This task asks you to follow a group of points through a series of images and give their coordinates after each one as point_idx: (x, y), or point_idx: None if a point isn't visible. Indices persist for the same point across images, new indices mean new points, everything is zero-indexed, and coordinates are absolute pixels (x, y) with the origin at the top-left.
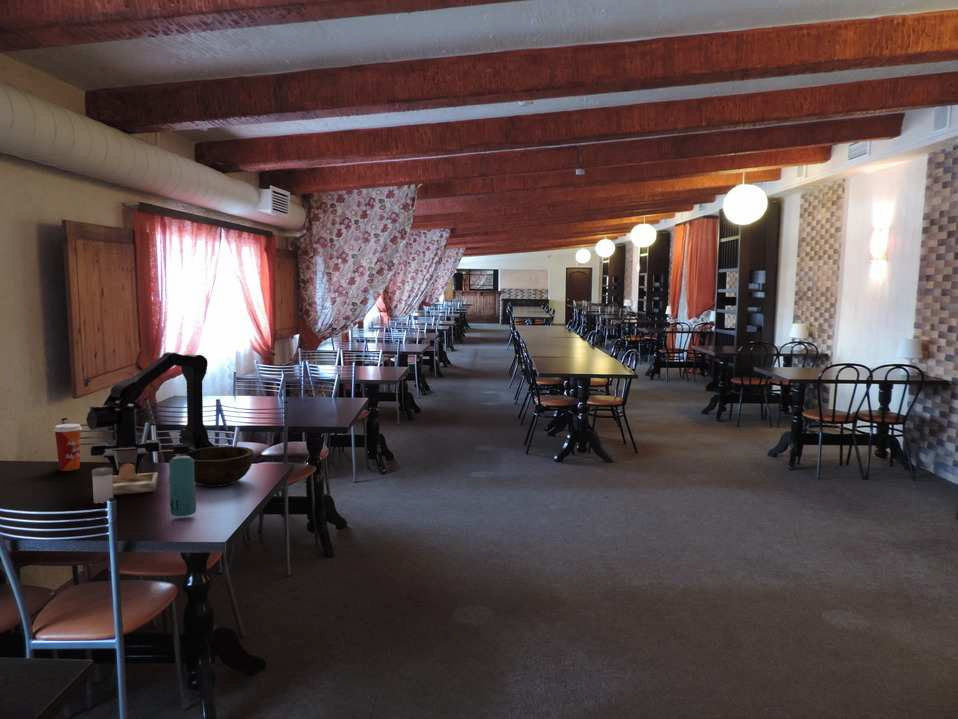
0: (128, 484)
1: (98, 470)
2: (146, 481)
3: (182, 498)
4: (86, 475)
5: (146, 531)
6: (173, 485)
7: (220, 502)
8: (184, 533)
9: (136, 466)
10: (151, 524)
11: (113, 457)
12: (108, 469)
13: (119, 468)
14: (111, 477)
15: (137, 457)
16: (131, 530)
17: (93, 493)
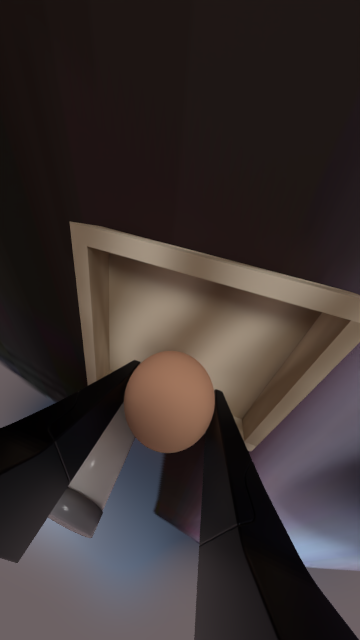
0: (192, 330)
1: (54, 518)
2: (271, 327)
3: None
4: None
5: (175, 516)
6: None
7: (318, 537)
8: None
9: (207, 464)
10: (184, 511)
11: (30, 532)
12: (81, 532)
13: (124, 405)
14: (109, 494)
15: (203, 591)
16: (162, 507)
17: None
